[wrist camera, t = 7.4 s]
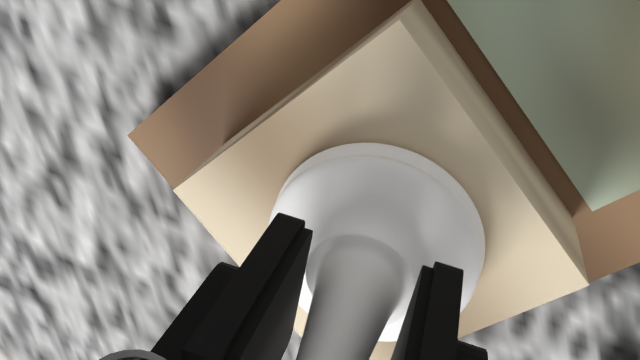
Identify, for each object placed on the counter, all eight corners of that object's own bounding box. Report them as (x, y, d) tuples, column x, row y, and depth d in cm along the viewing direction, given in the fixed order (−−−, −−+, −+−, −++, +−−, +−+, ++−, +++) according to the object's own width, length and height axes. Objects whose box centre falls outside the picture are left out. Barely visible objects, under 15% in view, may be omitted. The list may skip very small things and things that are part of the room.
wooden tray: (753, -409, 10) (899, -580, 6) (990, 84, 12) (1197, 164, 9) (148, 122, 19) (63, 176, 15) (350, 357, 21) (319, 455, 17)
